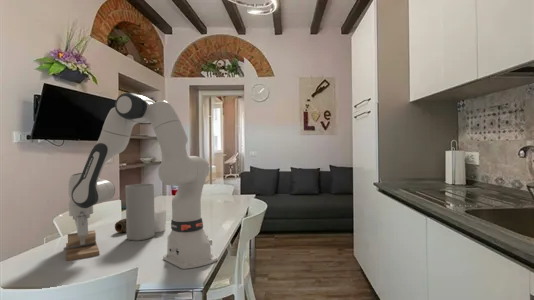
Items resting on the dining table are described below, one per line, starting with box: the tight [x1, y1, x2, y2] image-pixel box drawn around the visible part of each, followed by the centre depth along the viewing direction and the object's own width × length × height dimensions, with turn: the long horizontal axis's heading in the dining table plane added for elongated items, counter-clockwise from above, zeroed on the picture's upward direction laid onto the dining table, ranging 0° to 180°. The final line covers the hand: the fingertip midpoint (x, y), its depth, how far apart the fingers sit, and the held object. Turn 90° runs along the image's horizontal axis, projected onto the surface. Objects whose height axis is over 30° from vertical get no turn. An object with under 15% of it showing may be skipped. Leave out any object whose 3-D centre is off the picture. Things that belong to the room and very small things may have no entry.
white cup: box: [154, 209, 167, 233], centre depth 157 cm, size 8×8×10 cm
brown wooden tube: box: [114, 218, 127, 234], centre depth 159 cm, size 15×7×7 cm, turn 169°
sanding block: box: [67, 229, 97, 249], centre depth 130 cm, size 5×10×5 cm, turn 124°
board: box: [65, 242, 100, 262], centre depth 127 cm, size 21×11×2 cm, turn 34°
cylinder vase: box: [125, 183, 156, 241], centre depth 146 cm, size 12×12×25 cm
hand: (82, 242), depth 130 cm, fingers closed on sanding block, 5 cm apart
